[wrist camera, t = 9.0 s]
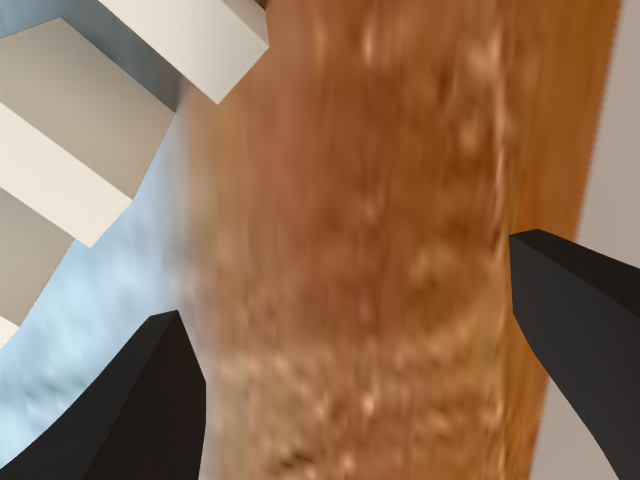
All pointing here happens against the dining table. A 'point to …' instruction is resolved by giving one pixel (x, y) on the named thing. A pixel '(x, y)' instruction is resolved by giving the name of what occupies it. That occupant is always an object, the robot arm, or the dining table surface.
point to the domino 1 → (25, 259)
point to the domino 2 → (73, 129)
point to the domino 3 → (200, 37)
